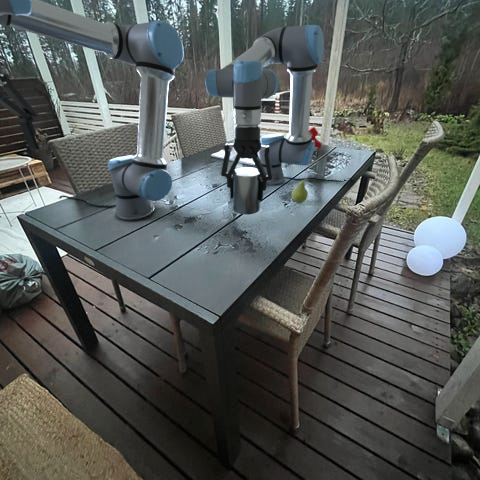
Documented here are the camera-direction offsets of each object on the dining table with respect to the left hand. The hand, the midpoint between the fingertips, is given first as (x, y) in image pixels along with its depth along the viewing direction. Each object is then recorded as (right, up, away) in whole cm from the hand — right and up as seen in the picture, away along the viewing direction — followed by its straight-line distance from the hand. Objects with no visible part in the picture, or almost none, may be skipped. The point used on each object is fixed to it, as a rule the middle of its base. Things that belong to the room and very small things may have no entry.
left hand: (7, 155), depth 65 cm
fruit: (+82, -3, +57) cm, 100 cm away
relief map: (+58, +37, +119) cm, 138 cm away
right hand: (+58, -6, +25) cm, 63 cm away
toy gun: (+105, +47, +135) cm, 177 cm away
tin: (+58, -10, +27) cm, 64 cm away
